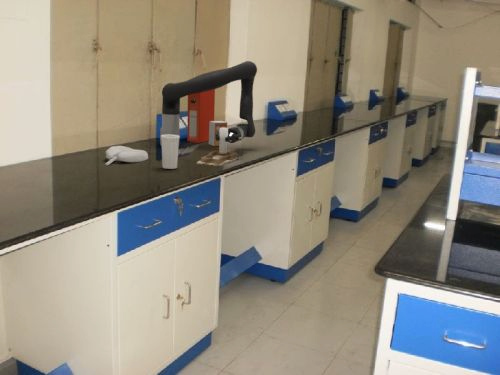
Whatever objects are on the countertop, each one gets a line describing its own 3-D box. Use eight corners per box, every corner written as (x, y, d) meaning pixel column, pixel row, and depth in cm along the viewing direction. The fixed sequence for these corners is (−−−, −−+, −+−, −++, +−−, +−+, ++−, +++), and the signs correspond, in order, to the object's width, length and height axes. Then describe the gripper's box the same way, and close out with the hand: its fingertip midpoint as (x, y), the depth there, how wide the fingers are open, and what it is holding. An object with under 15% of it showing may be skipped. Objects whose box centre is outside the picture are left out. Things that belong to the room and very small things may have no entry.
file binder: (186, 141, 312) (187, 84, 304) (201, 138, 327) (203, 83, 319) (199, 143, 308) (200, 85, 301) (213, 139, 324) (215, 84, 316)
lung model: (152, 158, 260) (124, 172, 238) (121, 155, 265) (90, 169, 243) (151, 144, 258) (123, 158, 236) (119, 142, 263) (89, 154, 241)
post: (217, 152, 264) (218, 128, 262) (221, 151, 268) (221, 127, 265) (225, 153, 263) (226, 128, 260) (228, 152, 267) (229, 127, 264)
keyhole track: (196, 163, 253) (196, 157, 252) (215, 156, 273) (215, 150, 272) (220, 166, 249) (221, 160, 248) (237, 158, 269) (238, 153, 268)
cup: (170, 170, 235) (171, 137, 232) (156, 168, 239) (156, 135, 236) (182, 168, 242) (183, 135, 239) (168, 165, 246) (169, 133, 243)
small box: (214, 146, 301) (214, 122, 298) (208, 144, 306) (209, 121, 303) (226, 145, 306) (227, 122, 303) (221, 143, 311) (221, 120, 308)
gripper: (221, 126, 278) (207, 130, 263) (247, 128, 274) (235, 132, 258) (221, 140, 280) (207, 145, 264) (247, 143, 276) (235, 148, 260)
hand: (221, 139), depth 261 cm, fingers closed on post, 4 cm apart
